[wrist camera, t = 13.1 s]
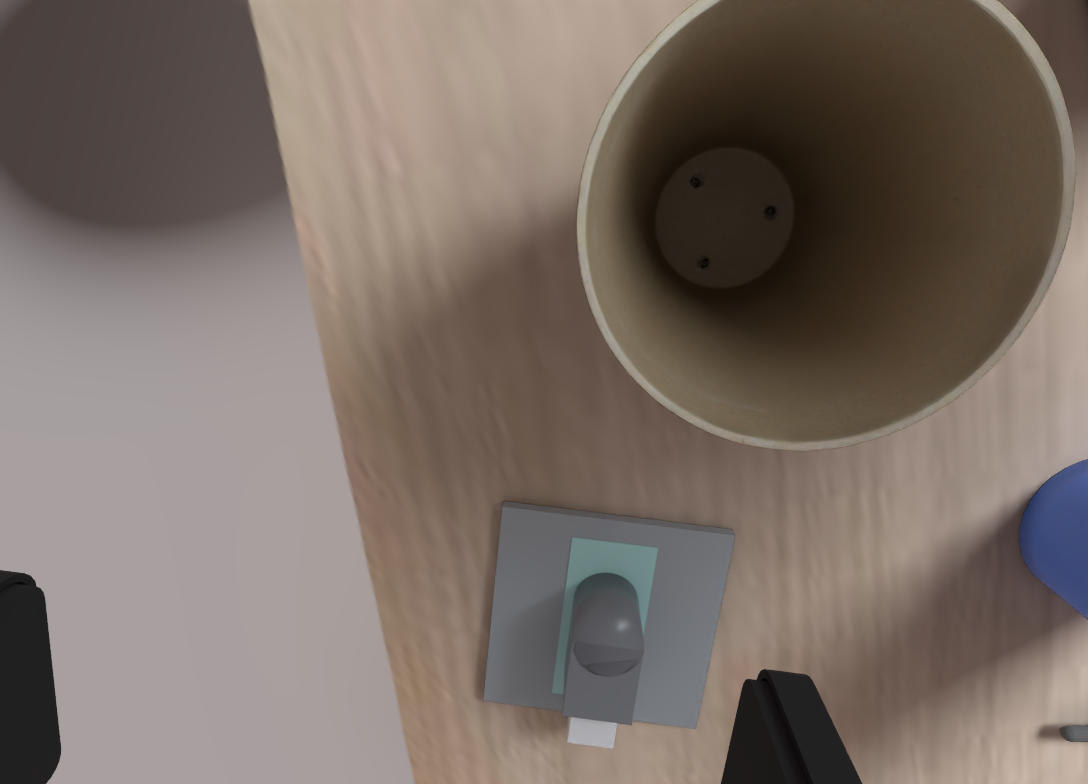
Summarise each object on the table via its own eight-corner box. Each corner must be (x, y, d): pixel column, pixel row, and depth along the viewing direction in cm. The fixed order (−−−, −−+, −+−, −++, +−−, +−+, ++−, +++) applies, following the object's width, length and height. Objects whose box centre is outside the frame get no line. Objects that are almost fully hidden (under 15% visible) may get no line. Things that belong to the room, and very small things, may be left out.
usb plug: (577, 568, 41) (576, 610, 37) (642, 576, 41) (649, 619, 37) (559, 704, 44) (556, 758, 39) (620, 712, 43) (624, 767, 39)
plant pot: (812, 13, 33) (1009, -156, 18) (896, 291, 36) (1123, 351, 21) (536, 141, 35) (499, 89, 20) (638, 392, 39) (673, 511, 23)
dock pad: (732, 529, 41) (735, 536, 40) (694, 719, 44) (696, 730, 43) (503, 501, 41) (501, 507, 40) (484, 692, 45) (483, 701, 44)
